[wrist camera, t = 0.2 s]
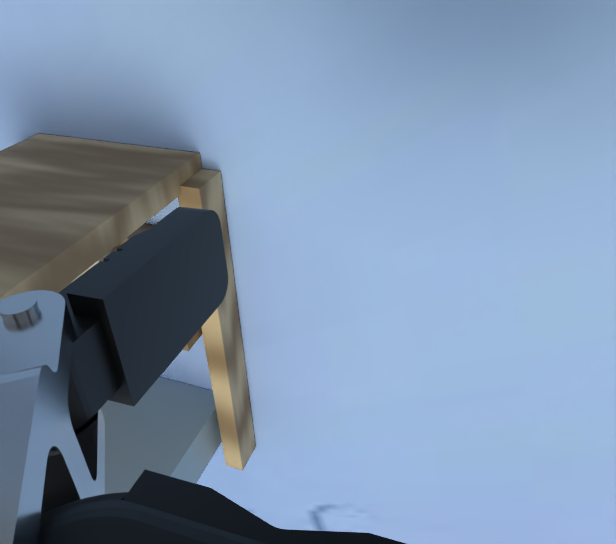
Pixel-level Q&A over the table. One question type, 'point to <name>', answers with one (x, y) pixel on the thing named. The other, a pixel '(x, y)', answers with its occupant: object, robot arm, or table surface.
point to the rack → (116, 238)
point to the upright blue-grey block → (160, 434)
